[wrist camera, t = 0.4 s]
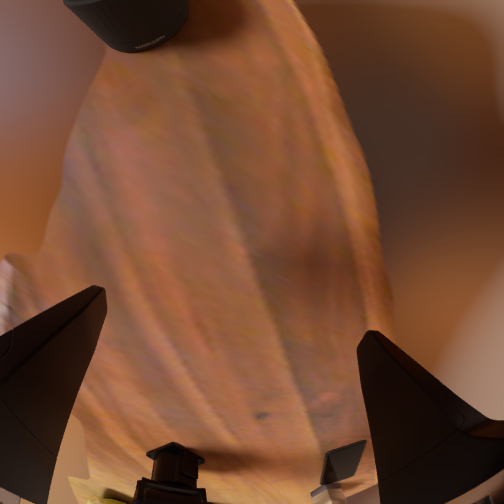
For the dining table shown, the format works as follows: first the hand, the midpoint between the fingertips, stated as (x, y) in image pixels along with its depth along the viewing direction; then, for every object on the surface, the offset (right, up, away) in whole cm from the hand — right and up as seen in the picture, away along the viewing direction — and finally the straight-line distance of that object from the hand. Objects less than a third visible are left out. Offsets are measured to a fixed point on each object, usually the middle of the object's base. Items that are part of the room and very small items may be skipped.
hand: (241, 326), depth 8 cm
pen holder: (-10, +25, +9) cm, 28 cm away
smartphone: (+16, -36, +28) cm, 48 cm away
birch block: (+16, -47, +30) cm, 58 cm away
